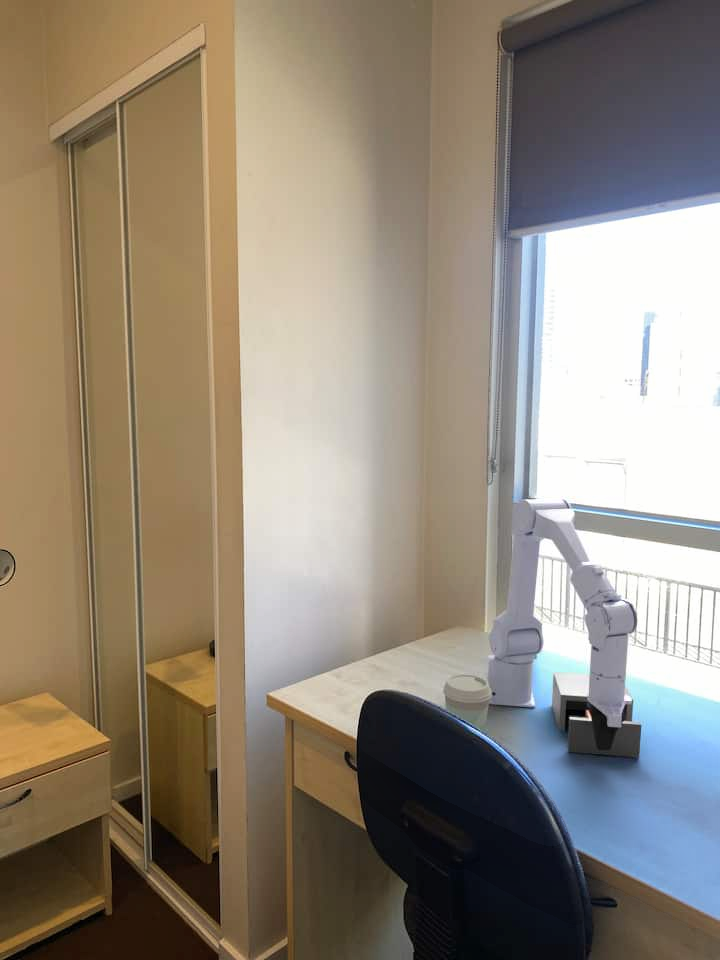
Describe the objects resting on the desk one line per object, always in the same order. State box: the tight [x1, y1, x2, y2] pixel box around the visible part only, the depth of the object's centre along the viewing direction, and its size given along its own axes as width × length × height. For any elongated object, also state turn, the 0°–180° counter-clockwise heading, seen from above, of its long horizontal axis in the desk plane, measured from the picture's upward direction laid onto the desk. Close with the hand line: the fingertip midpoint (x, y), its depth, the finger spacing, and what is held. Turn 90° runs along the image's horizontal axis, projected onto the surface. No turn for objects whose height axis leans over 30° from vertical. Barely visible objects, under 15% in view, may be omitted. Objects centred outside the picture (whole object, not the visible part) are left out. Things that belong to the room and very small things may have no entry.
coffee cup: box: [442, 673, 492, 733], centre depth 128 cm, size 8×8×12 cm
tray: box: [567, 714, 642, 758], centre depth 131 cm, size 12×11×6 cm
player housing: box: [551, 671, 634, 732], centre depth 139 cm, size 13×11×7 cm
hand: (603, 748), depth 122 cm, fingers closed
